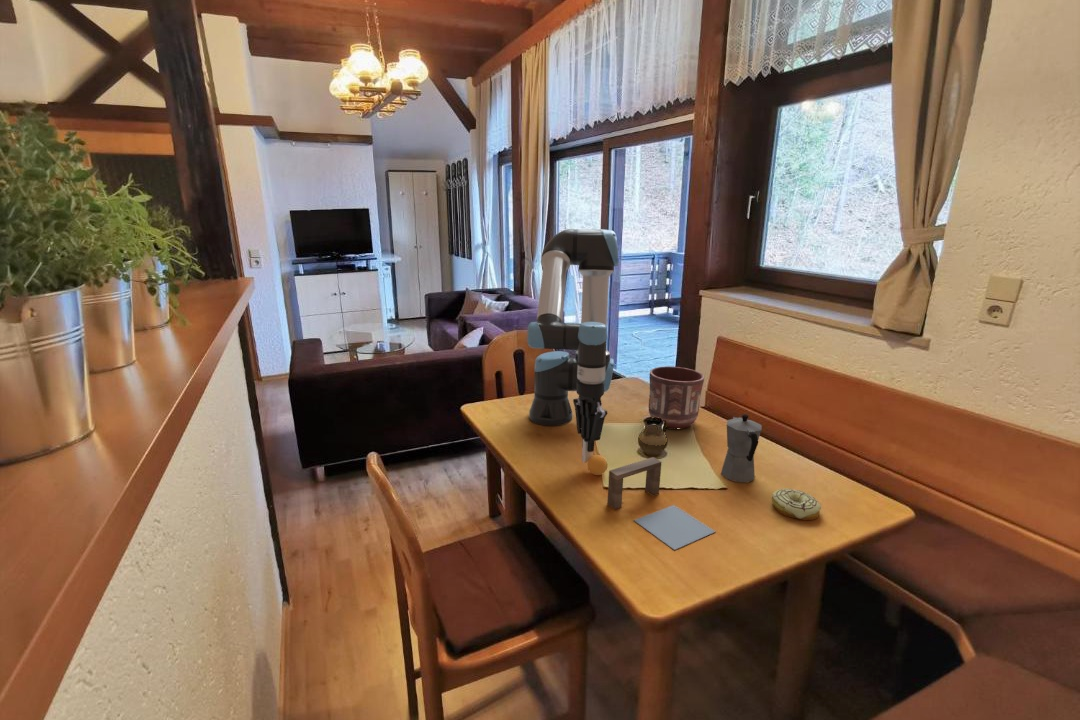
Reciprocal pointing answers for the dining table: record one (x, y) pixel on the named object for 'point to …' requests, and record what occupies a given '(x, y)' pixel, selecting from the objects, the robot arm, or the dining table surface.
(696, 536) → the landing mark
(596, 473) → the ball
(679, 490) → the dining table surface
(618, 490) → the bridge
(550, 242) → the robot arm
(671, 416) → the pottery
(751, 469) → the coffeepot
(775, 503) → the decorated donut
